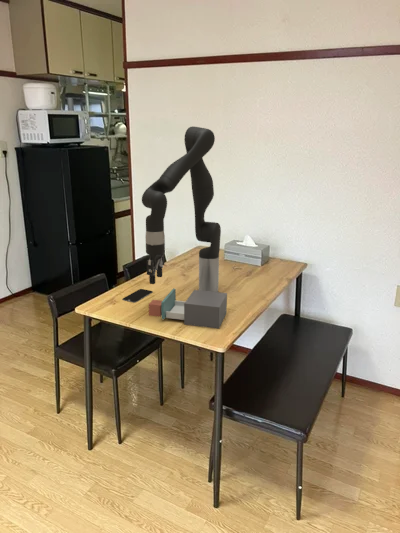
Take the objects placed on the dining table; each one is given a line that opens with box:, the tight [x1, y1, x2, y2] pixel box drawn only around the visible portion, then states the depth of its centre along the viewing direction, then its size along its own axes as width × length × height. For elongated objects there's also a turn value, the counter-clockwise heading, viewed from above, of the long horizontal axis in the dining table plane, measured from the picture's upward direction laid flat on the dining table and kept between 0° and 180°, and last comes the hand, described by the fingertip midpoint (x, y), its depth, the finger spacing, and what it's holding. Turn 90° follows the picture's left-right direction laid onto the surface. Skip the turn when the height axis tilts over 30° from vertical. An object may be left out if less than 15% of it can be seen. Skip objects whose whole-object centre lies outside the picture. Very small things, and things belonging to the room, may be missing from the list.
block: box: [148, 299, 163, 318], centre depth 179 cm, size 5×5×5 cm
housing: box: [183, 289, 228, 329], centre depth 174 cm, size 15×14×9 cm
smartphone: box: [122, 288, 154, 304], centre depth 198 cm, size 8×1×15 cm
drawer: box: [161, 288, 186, 321], centre depth 176 cm, size 15×14×7 cm
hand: (156, 280), depth 175 cm, fingers open, 8 cm apart
